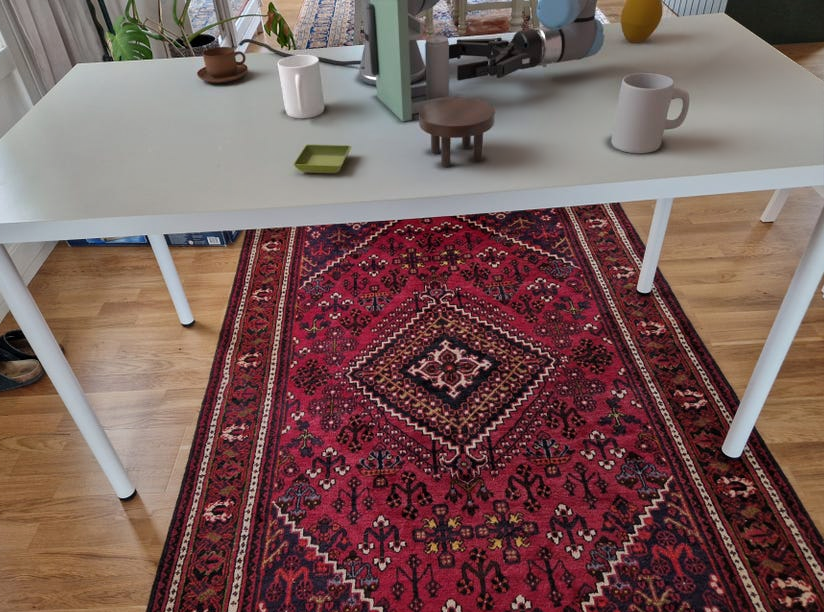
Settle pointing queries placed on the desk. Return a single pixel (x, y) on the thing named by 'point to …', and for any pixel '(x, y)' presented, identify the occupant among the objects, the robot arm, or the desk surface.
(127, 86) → the desk surface
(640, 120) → the mug
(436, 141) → the stool
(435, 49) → the beverage can
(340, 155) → the green square dish
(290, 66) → the cup
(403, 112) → the mint green upright panel
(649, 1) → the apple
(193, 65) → the desk surface
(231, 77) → the cup and saucer
